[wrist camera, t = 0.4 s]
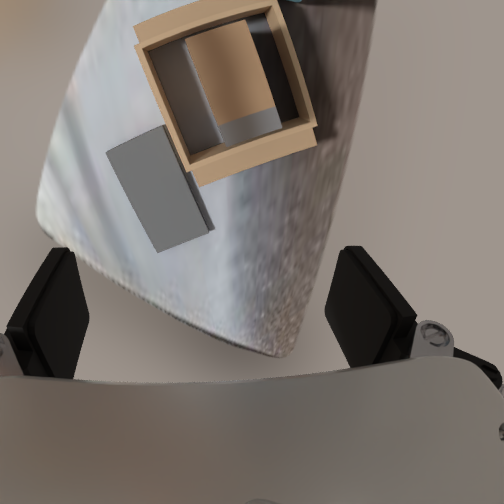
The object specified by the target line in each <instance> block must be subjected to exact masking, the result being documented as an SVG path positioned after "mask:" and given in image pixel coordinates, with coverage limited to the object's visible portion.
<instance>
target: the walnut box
mask: <svg viewBox="0 0 504 504" xmlns="http://www.w3.org/2000/svg"><path fill="white" fill-rule="evenodd" d="M185 41H186V44H187V47H188V50H189V53H190V55H191V58H192V60H193V63H194V65H195V68H196V71H197V73H198V76H199V78H200V81H201V84H202V86H203V89H204V91H205V94H206V97H207V99H208V102H209V104H210V107H211V110H212V112H213V115H214V117H215V120H216V123H217V125H218V128H219V131H220V133H221V135H222V138H223V140H224V142H225V145H226V147H229V146H231V145H234V144H237V143H240V142H242V141H245V140H248V139H251V138H254V137H257V136H260V135H262V134H265V133H268V132H271V131H274V130H277V129H281V128H282V125H281V122H280V119H279V115H278V112H277V109H276V106H275V103H274V100H273V97H272V94H271V91H270V88H269V85H268V82H267V79H266V76H265V73H264V70H263V67H262V65H261V62H260V59H259V56H258V53H257V50H256V48H255V45H254V42H253V39H252V37H251V34H250V31H249V29H248V26H247V23H246V21H245V20H242V21H238V22H235V23H231V24H228V25H225V26H221V27H218V28H215V29H212V30H209V31H206V32H203V33H200V34H197V35H194V36H192V37H189V38H186V39H185Z"/></svg>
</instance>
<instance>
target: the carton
mask: <svg viewBox="0 0 504 504" xmlns="http://www.w3.org/2000/svg"><path fill="white" fill-rule="evenodd" d="M260 13H265V16H266V18H267V21H268V24H269V26H270V29H271V32H272V35H273V38H274V40H275V43H276V46H277V49H278V52H279V55H280V58H281V61H282V64H283V67H284V70H285V73H286V76H287V79H288V82H289V85H290V88H291V91H292V95H293V98H294V101H295V104H296V108H297V111H298V114H299V117H298V118H295V119H291V120H288V121H285V122H282V123H281V125H282V128H281V129H277V130H274V131H271V132H268V133H265V134H262V135H260V136H257V137H254V138H251V139H248V140H245V141H242V142H240V143H237V144H234V145H231V146H229V147H226V145H225V142H224V143H221V144H219V145H216V146H213V147H211V148H208V149H206V150H203V151H201V152H198V153H196V154H193V155H191V156H190V153H189V151H188V149H187V146H186V144H185V141H184V139H183V137H182V134H181V132H180V129H179V127H178V124H177V122H176V120H175V117H174V115H173V112H172V110H171V107H170V105H169V103H168V100H167V98H166V95H165V93H164V90H163V88H162V85H161V83H160V80H159V78H158V75H157V73H156V71H155V68H154V66H153V63H152V61H151V58H150V56H149V53H148V51H150V50H153V49H155V48H157V47H160V46H162V45H164V44H167V43H169V42H172V41H174V40H177V39H180V38H182V37H185V36H188V35H190V34H193V33H196V32H199V31H202V30H205V29H208V28H211V27H214V26H217V25H220V24H223V23H227V22H230V21H233V20H237V19H240V18H244V17H248V16H252V15H256V14H260ZM133 27H134V30H135V33H136V35H137V38H138V40H139V44H137V45H135V46H134V47H135V50H136V52H137V55H138V57H139V60H140V62H141V65H142V67H143V70H144V72H145V75H146V77H147V80H148V82H149V85H150V87H151V90H152V92H153V94H154V97H155V99H156V102H157V104H158V106H159V109H160V111H161V114H162V116H163V118H164V121H165V123H166V126H167V128H168V130H169V133H170V135H171V137H172V140H173V142H174V144H175V147H176V149H177V151H178V154H179V156H180V158H181V161H182V163H183V165H184V168H185V170H186V172H189V171H191V170H192V171H193V174H194V176H195V178H196V181H197V183H198V185H199V187H201V186H204V185H206V184H209V183H211V182H214V181H216V180H219V179H222V178H224V177H227V176H230V175H232V174H235V173H238V172H240V171H243V170H246V169H249V168H251V167H254V166H257V165H260V164H262V163H265V162H268V161H271V160H274V159H277V158H280V157H283V156H286V155H288V154H291V153H294V152H297V151H300V150H304V149H307V148H310V147H313V146H316V145H317V143H316V139H315V135H314V132H313V127H316V126H317V122H316V118H315V115H314V111H313V108H312V104H311V101H310V97H309V94H308V90H307V87H306V84H305V80H304V77H303V74H302V71H301V68H300V65H299V61H298V58H297V55H296V52H295V49H294V46H293V43H292V40H291V37H290V35H289V32H288V29H287V26H286V23H285V21H284V18H283V15H282V12H281V10H280V7H279V4H278V2H277V0H200V1H196V2H193V3H191V4H188V5H185V6H182V7H179V8H176V9H174V10H171V11H168V12H166V13H163V14H161V15H158V16H156V17H153V18H151V19H149V20H146V21H144V22H142V23H139V24H137V25H135V26H133Z"/></svg>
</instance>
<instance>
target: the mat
mask: <svg viewBox="0 0 504 504" xmlns="http://www.w3.org/2000/svg"><path fill="white" fill-rule="evenodd" d="M106 155H107V157H108V159H109V161H110V163H111V165H112V167H113V169H114V171H115V173H116V175H117V177H118V179H119V181H120V183H121V185H122V187H123V189H124V191H125V193H126V195H127V197H128V199H129V201H130V203H131V205H132V207H133V209H134V211H135V213H136V214H137V216H138V218H139V220H140V222H141V224H142V226H143V228H144V229H145V231H146V233H147V235H148V237H149V239H150V240H151V242H152V244H153V246H154V248H155V249H156V251H157V253H159V252H161V251H164V250H166V249H169V248H172V247H174V246H177V245H179V244H182V243H184V242H187V241H189V240H192V239H194V238H197V237H200V236H202V235H205V234H207V233H209V229H208V227H207V225H206V223H205V220H204V218H203V216H202V214H201V211H200V209H199V207H198V205H197V202H196V200H195V198H194V196H193V193H192V191H191V189H190V187H189V184H188V182H187V180H186V178H185V175H184V173H183V171H182V168H181V166H180V164H179V162H178V159H177V157H176V155H175V152H174V150H173V148H172V145H171V143H170V141H169V138H168V136H167V134H166V131H165V129H164V127H163V125H162V126H159V127H157V128H155V129H153V130H150V131H148V132H146V133H144V134H142V135H139V136H137V137H135V138H133V139H131V140H129V141H127V142H125V143H123V144H121V145H119V146H117V147H115V148H113V149H111V150H109V151H107V152H106Z"/></svg>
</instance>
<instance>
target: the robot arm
mask: <svg viewBox="0 0 504 504" xmlns="http://www.w3.org/2000/svg"><path fill="white" fill-rule="evenodd" d="M325 316H326V318H327V321H328V323H329V325H330V326H331V329H332V331H333V333H334V335H335V337H336V339H337V341H338V343H339V345H340V347H341V349H342V351H343V353H344V355H345V357H346V359H347V361H348V364H349V366H350V368H348V369H342V370H336V371H328V372H320V373H313V374H304V375H296V376H287V377H276V378H264V379H253V380H237V381H219V382H189V383H137V382H110V381H91V380H75V379H73V377H74V373H75V370H76V366H77V362H78V358H79V354H80V351H81V347H82V344H83V340H84V337H85V333H86V330H87V327H88V323H89V312H88V308H87V304H86V300H85V296H84V292H83V288H82V284H81V280H80V276H79V271H78V267H77V262H76V258H75V254H74V252H70V250H69V248H68V247H66V248H52V249H51V251H50V252H49V254H48V256H47V257H46V259H45V260H44V262H43V263H42V265H41V266H40V268H39V270H38V271H37V273H36V275H35V276H34V278H33V280H32V281H31V283H30V285H29V286H28V288H27V290H26V292H25V293H24V295H23V297H22V298H21V300H20V302H19V304H18V306H17V307H16V309H15V311H14V313H13V315H12V317H11V319H10V320H9V322H8V324H7V329H6V331H5V333H4V334H2V333H0V504H504V385H503V384H502V376H501V374H500V372H499V371H498V369H497V368H496V366H495V365H493V364H491V363H489V362H487V361H485V360H483V359H480V358H478V357H476V356H473V355H471V354H469V353H466V352H464V351H462V350H459V349H457V348H455V347H454V339H453V336H452V334H451V332H450V331H449V330H448V329H447V328H446V327H445V326H443V325H442V324H440V323H438V322H435V321H429V320H425V321H421V322H420V323H419V324H417V322H416V321H415V319H416V317H417V314H416V313H415V311H414V310H413V309H412V307H411V306H410V305H409V304H408V302H407V301H406V300H405V299H404V297H403V296H402V295H401V294H400V292H399V291H398V290H397V288H396V287H395V286H394V285H393V283H392V282H391V281H390V280H389V278H388V277H387V276H386V275H385V274H384V272H383V271H382V270H381V269H380V267H379V266H378V265H377V264H376V263H375V262H374V260H373V259H372V258H371V257H370V256H369V254H368V253H367V252H366V251H365V250H364V248H363V247H362V246H346V247H345V248H344V250H341V251H340V253H339V256H338V260H337V264H336V268H335V272H334V276H333V280H332V283H331V287H330V291H329V294H328V298H327V302H326V305H325Z"/></svg>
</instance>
